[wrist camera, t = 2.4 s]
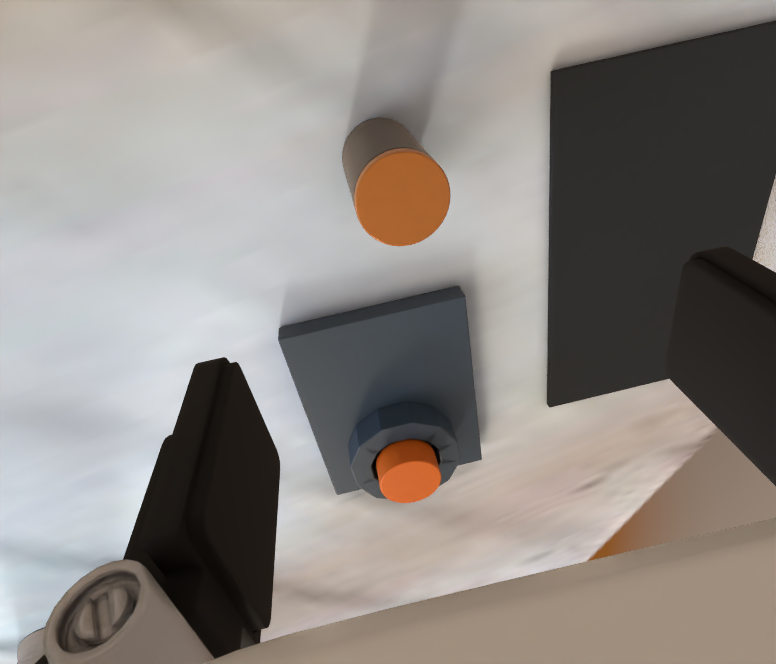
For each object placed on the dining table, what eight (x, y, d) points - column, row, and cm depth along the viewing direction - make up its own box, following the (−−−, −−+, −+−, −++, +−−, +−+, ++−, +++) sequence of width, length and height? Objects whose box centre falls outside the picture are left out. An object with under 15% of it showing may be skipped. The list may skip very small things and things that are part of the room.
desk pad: (550, 70, 21) (554, 71, 21) (812, 12, 22) (820, 12, 21) (546, 403, 33) (549, 407, 32) (719, 362, 33) (723, 365, 33)
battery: (334, 126, 21) (345, 163, 16) (410, 109, 21) (445, 141, 16) (351, 201, 23) (366, 255, 18) (421, 186, 23) (455, 235, 18)
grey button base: (278, 327, 26) (276, 360, 24) (459, 285, 27) (475, 313, 24) (335, 481, 34) (338, 518, 31) (476, 446, 34) (490, 481, 31)
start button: (370, 446, 28) (374, 470, 27) (430, 432, 29) (437, 454, 27) (381, 485, 31) (386, 509, 29) (438, 471, 31) (444, 494, 29)
